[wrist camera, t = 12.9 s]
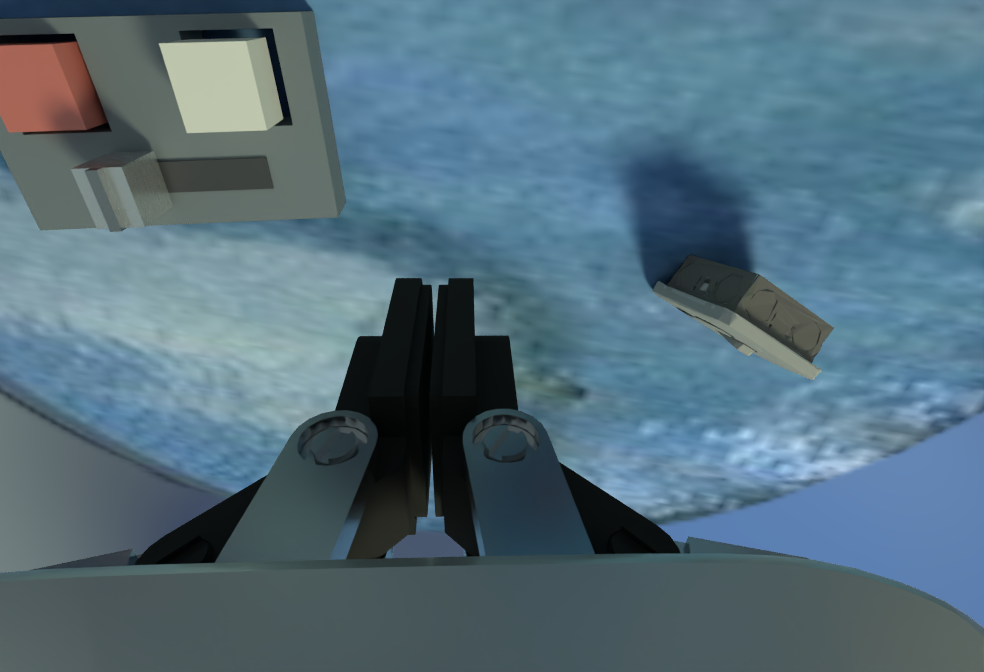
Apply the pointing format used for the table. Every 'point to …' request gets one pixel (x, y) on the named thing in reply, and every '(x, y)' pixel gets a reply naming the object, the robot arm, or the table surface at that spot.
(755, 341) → the electrical switch
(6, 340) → the table surface
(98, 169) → the grooved grey block
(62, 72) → the red button
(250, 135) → the panel
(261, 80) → the ivory button
